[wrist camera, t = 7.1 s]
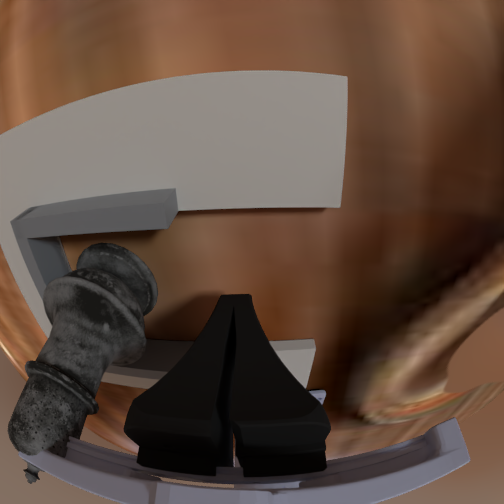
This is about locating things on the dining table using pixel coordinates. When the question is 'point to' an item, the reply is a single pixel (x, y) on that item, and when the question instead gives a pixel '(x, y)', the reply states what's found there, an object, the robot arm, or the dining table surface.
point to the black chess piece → (82, 347)
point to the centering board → (168, 174)
